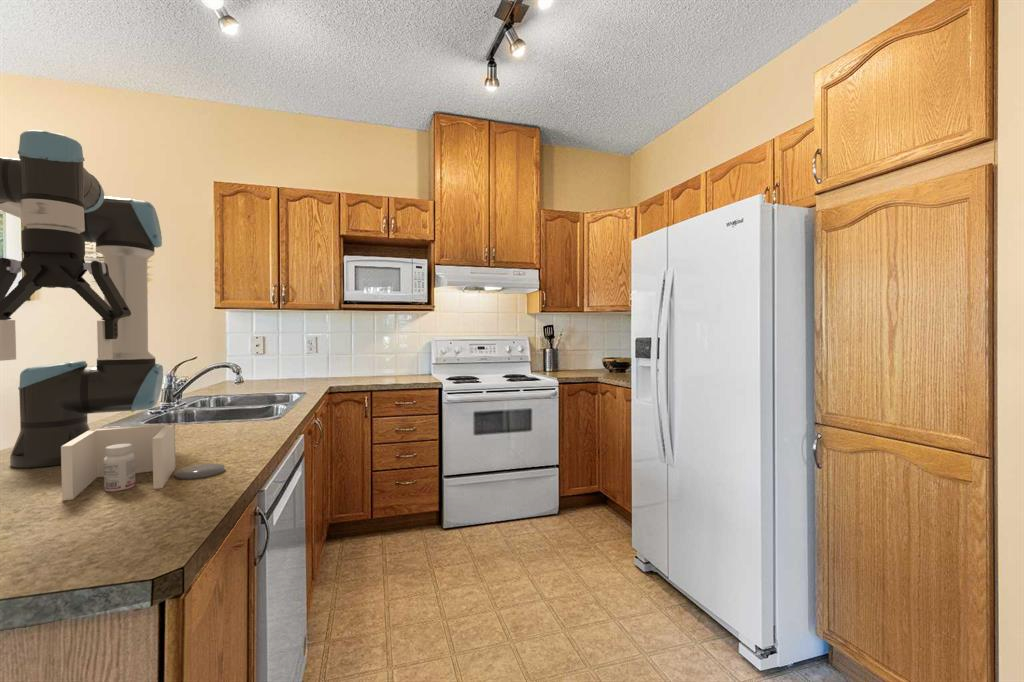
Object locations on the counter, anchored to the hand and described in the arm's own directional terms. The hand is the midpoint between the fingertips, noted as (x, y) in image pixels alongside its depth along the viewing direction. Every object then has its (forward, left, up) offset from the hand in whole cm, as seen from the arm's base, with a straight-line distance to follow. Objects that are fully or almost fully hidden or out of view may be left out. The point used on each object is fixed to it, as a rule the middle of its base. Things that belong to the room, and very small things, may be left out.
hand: (57, 359), depth 78 cm
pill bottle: (-14, +5, -27) cm, 30 cm away
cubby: (-18, +5, -26) cm, 32 cm away
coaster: (-18, +18, -26) cm, 37 cm away
